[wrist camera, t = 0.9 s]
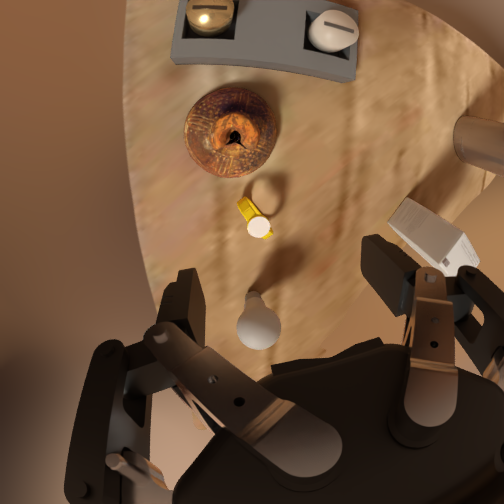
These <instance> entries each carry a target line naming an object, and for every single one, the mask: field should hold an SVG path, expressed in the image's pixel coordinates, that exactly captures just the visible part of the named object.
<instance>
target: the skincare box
mask: <svg viewBox="0 0 504 504" xmlns="http://www.w3.org/2000/svg"><path fill="white" fill-rule="evenodd" d="M387 223H388V224H389V225H390V226H391V227H392V229H393V230H394V231H395V232H396V233H397V234H398V235H399V236H400V237H401V238H402V239H403V240H405V241H406V242H407V243H408V244H409V245H410V246H411V247H412V248H413V249H414V250H415V251H416V252H418V253H419V254H420V255H421V256H422V257H423V258H424V259H425V260H426V261H427V262H429V263H430V264H431V265H432V266H433V267H434V268H436V269H438V270H440V271H441V272H442V273H443V274H444V275H445V277H448V276H456V275H457V271H458V268H459V267H460V266H463V265H469V266H473V267H475V268H476V267H477V265H478V264H479V262H480V260H479V258H478V256H477V254H476V252H475V250H474V248H473V246H472V245H471V243H470V241H469V240H468V238H467V236H466V235H465V233H464V232H463V231H461V230H460V229H459V228H457V227H455V226H454V225H452V224H451V223H449V222H448V221H446V220H445V219H443V218H442V217H440V216H439V215H437V214H435V213H434V212H432V211H431V210H429V209H427V208H426V207H424V206H422V205H420V204H419V203H417V202H415V201H414V200H412V199H410V198H408V197H406V198H405V200H404V201H403V202H402V204H401V205H400V206H399V207H398V209H397V210H396V211H395V213H394V214H393V215H392V216H391V218H390V219H389V220H388V222H387Z"/></svg>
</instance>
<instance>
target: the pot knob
mask: <svg viewBox="0 0 504 504" xmlns="http://www.w3.org/2000/svg"><path fill="white" fill-rule="evenodd" d="M307 36H308V39H309V41H310V42H311V44H312V45H313V46H314V47H315V48H317V49H318V50H320V51H323V52H326V53H335V52H338V51H340V50H342V49H344V48H346V47H348V46H350V45H352V44H354V43H355V42H356V41H357V39H358V36H359V30H358V27H357V24H356V23H355V21H354V20H353V19H352V18H351V17H350V16H349V15H347V14H346V13H344V12H341V11H338V10H327V11H325V12H323V13H322V14H321V15H320V16H318V17H317V18H316V19H315V20H314V21H313V22H312V23H311V24H310V25H309V27H308V29H307Z"/></svg>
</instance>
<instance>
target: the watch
mask: <svg viewBox="0 0 504 504" xmlns="http://www.w3.org/2000/svg"><path fill="white" fill-rule="evenodd" d="M237 206H238V208H239V210H240V211H241V213H242V214H243V216H244V217H245V219H246V220H247V230H248V232H249V234H250V235H252V236H253V237H257V238H260V237H261V238H263V239H267V238H268V237H270V236H271V235H272V234H273V230H272V228H271V227H270V222H269V220H268V218H267V217H266V216H264V215H262V214H261V213H260V212H259V210H258V209H257V208H256V207H255V205H254V204H253V203H252V202H251V201H250V200H249V199H248V198H247V197H245V196H244V197H243V198H242V199H240V200H239V201H238V202H237Z"/></svg>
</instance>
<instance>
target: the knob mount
mask: <svg viewBox="0 0 504 504" xmlns="http://www.w3.org/2000/svg"><path fill="white" fill-rule="evenodd" d="M232 1H233V3H234V12H233V19H232V23H231V26H230V27H229V29H228V30H227V31H225V32H224V33H222V34H220V35H217V36H213V37H205V36H201V35H198V34H196V33H195V32H194V31H193V30H192V29H191V27H190V24H189V21H188V18H187V15H186V5H187V3H188V2H189V0H179V5H178V11H177V16H176V22H175V28H174V34H173V41H172V48H171V56H170V58H171V59H172V61H173V62H174V63H175V64H176V65H177V64H211V65H232V66H245V67H256V68H265V69H272V70H280V71H286V72H292V73H298V74H303V75H309V76H314V77H318V78H323V79H327V80H332V81H336V82H340V83H345V82H349V81H353V80H355V76H356V62H357V43H358V39H357V41H356V42H355V43H354V44H352V45H350V46H348V47H346V48H344V49H342V50H340V51H338V52H335V53H326V52H323V51H320V50H318V49H317V48H315V47H314V46H313V45H312V44H311V42H310V41H309V39H308V36H307V29H308V27H309V25H310V24H311V23H312V22H313V21H314V20H315V19H316V18H317V17H318V16H320V15H321V14H322V13H323V12H325V11H327V10H338V11H341V12H344V13H346V14H347V15H349V16H350V17H351V18H352V19H353V20H354V21H355V23H356V24H357V27H358V10H355V9H352V8H349V7H346V6H343V5H340V4H336V3H333V2H329V1H326V0H232Z"/></svg>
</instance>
